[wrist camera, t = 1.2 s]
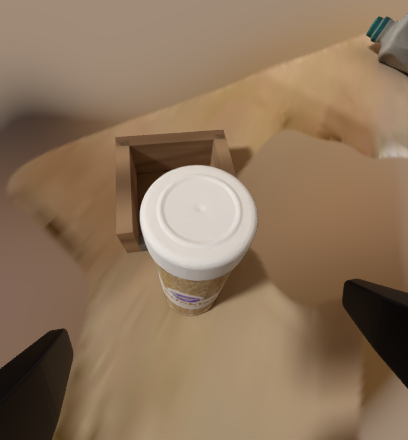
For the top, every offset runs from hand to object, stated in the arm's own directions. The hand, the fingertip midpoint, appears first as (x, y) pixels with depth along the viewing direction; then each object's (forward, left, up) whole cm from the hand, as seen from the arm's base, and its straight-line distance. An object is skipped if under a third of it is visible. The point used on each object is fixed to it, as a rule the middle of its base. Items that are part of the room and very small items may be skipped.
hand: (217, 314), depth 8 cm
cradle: (+11, -6, -13) cm, 18 cm away
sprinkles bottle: (+3, -2, -13) cm, 14 cm away
